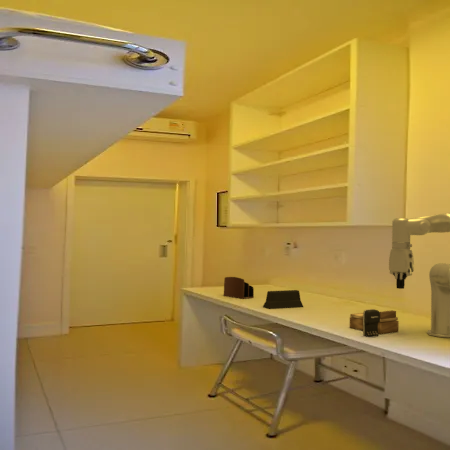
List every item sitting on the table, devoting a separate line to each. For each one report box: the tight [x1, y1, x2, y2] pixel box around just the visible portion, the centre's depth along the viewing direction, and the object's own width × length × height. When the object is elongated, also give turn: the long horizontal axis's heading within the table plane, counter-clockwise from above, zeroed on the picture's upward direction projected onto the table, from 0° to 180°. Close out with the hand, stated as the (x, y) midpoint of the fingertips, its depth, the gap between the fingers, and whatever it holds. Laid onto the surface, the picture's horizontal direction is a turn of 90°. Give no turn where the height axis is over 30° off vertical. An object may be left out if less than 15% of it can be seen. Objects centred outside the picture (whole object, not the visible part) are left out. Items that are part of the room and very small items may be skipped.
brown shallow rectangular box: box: [349, 316, 400, 336], centre depth 226 cm, size 18×13×5 cm
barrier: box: [262, 289, 304, 310], centre depth 293 cm, size 24×9×10 cm, turn 115°
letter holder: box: [223, 276, 255, 300], centre depth 336 cm, size 10×20×14 cm, turn 42°
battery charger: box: [362, 308, 381, 338], centre depth 212 cm, size 7×4×11 cm, turn 110°
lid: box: [349, 310, 399, 322], centre depth 226 cm, size 17×13×4 cm
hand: (400, 288), depth 215 cm, fingers closed
